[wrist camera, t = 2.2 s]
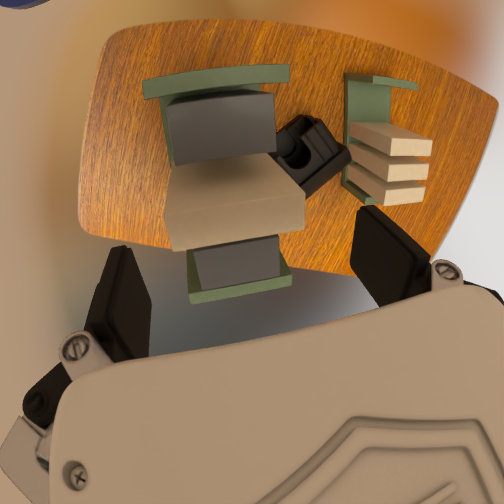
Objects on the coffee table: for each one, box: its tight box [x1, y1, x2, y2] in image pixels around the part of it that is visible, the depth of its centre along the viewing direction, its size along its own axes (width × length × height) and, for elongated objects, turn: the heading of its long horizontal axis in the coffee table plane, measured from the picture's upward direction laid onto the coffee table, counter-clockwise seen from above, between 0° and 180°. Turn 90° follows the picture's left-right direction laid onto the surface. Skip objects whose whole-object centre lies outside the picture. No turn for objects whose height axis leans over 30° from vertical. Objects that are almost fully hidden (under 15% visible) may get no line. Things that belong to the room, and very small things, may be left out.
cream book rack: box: [341, 73, 432, 206], centre depth 30 cm, size 16×7×10 cm, turn 4°
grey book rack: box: [142, 64, 292, 304], centre depth 23 cm, size 14×7×20 cm, turn 4°
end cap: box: [267, 115, 352, 200], centre depth 31 cm, size 10×7×7 cm
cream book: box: [164, 153, 305, 252], centre depth 17 cm, size 2×6×9 cm, turn 94°
